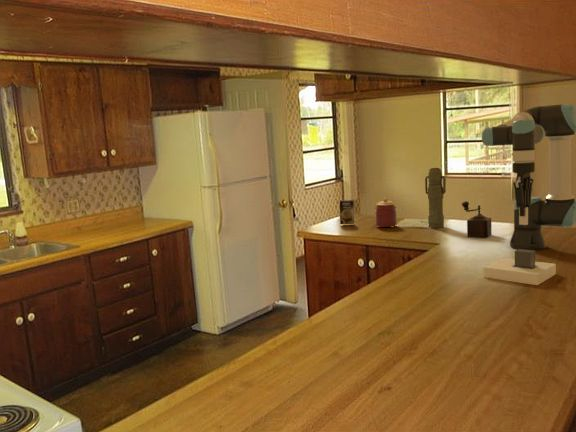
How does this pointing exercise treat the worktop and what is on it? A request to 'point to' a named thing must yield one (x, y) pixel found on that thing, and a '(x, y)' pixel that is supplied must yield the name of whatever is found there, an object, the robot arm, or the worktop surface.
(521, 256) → the plug
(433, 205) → the thermos
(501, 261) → the socket plate
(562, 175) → the robot arm
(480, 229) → the manual coffee grinder
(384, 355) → the worktop surface
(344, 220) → the coffee box
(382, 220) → the canister
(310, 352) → the worktop surface
